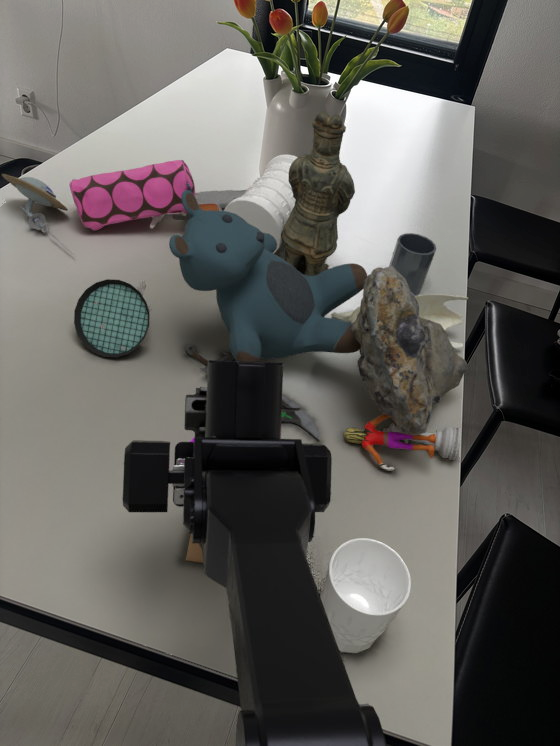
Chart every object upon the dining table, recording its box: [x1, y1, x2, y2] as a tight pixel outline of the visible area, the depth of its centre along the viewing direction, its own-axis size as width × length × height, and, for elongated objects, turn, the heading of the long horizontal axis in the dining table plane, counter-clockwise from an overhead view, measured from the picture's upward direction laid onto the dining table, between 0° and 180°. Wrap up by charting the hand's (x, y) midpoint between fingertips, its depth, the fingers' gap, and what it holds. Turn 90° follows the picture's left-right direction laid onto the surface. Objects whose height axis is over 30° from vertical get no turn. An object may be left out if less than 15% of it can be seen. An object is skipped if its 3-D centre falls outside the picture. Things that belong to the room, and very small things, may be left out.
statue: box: [281, 111, 356, 276], centre depth 100 cm, size 11×9×30 cm
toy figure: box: [343, 413, 436, 472], centre depth 81 cm, size 8×12×3 cm
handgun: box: [170, 189, 247, 222], centre depth 120 cm, size 4×26×15 cm
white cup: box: [320, 537, 412, 654], centre depth 62 cm, size 8×8×10 cm
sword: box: [185, 344, 320, 441], centre depth 88 cm, size 1×25×7 cm
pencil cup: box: [388, 232, 437, 296], centre depth 110 cm, size 7×7×9 cm
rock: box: [351, 265, 468, 435], centre depth 81 cm, size 25×21×15 cm
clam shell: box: [330, 293, 469, 349], centre depth 101 cm, size 22×12×12 cm, turn 106°
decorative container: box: [224, 153, 299, 254], centre depth 113 cm, size 12×12×18 cm
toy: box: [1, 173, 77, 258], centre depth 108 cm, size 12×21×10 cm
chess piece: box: [382, 422, 461, 461], centre depth 84 cm, size 4×4×10 cm
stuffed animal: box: [168, 190, 368, 362], centre depth 83 cm, size 23×18×28 cm
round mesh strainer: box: [73, 278, 152, 358], centre depth 91 cm, size 11×12×6 cm
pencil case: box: [69, 159, 196, 231], centre depth 110 cm, size 21×10×10 cm
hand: (222, 465), depth 65 cm, fingers closed on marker, 3 cm apart
